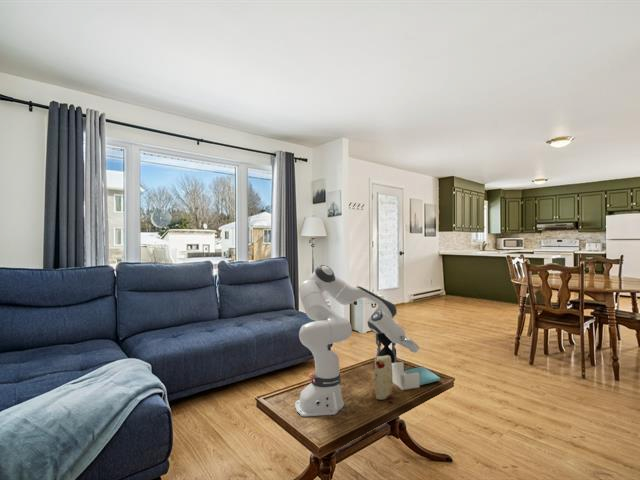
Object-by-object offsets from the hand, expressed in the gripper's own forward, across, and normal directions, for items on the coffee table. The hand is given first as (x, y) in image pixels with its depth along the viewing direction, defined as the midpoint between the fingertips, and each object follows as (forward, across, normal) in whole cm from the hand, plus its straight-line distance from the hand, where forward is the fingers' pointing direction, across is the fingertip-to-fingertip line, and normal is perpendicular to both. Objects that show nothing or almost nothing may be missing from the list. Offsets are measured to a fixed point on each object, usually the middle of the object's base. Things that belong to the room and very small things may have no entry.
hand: (413, 350), depth 176 cm
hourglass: (+7, +20, +15) cm, 26 cm away
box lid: (+8, 0, +11) cm, 14 cm away
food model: (-6, -12, +29) cm, 32 cm away
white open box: (+6, 0, +16) cm, 17 cm away
